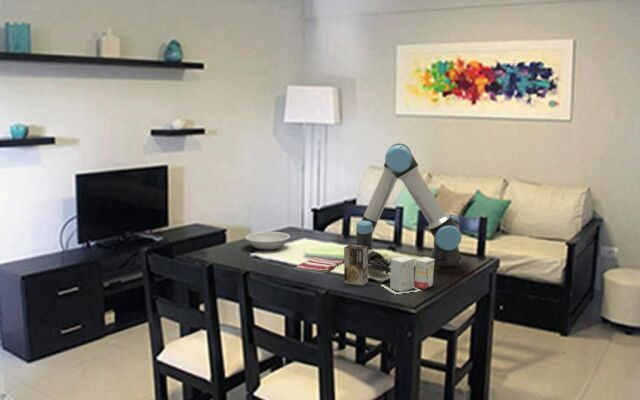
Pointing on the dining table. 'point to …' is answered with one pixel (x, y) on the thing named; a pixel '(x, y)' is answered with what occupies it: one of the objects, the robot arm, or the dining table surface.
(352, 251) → the coffee box
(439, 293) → the dining table surface
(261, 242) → the soup bowl
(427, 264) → the ink box
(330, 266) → the dish towel
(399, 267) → the small box
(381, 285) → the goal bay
